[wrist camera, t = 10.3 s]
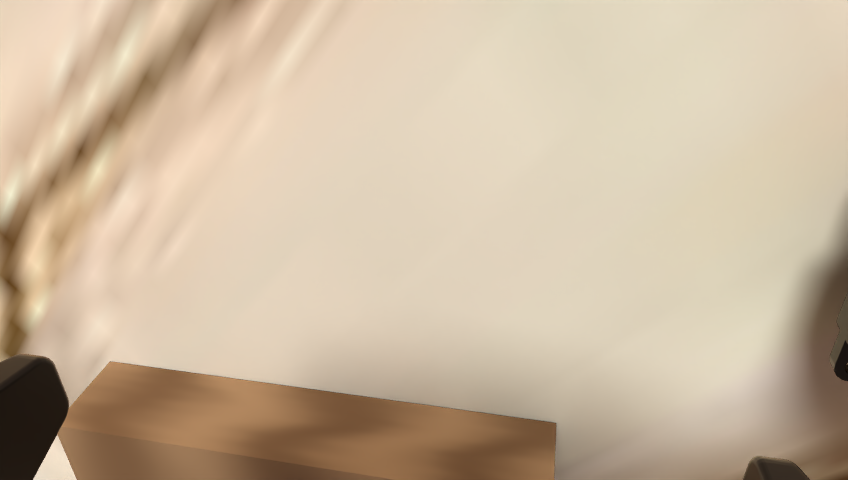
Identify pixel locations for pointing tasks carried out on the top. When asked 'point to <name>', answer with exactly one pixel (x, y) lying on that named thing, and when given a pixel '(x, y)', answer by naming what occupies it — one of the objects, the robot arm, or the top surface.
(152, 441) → the can holder
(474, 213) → the top surface
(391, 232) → the top surface
